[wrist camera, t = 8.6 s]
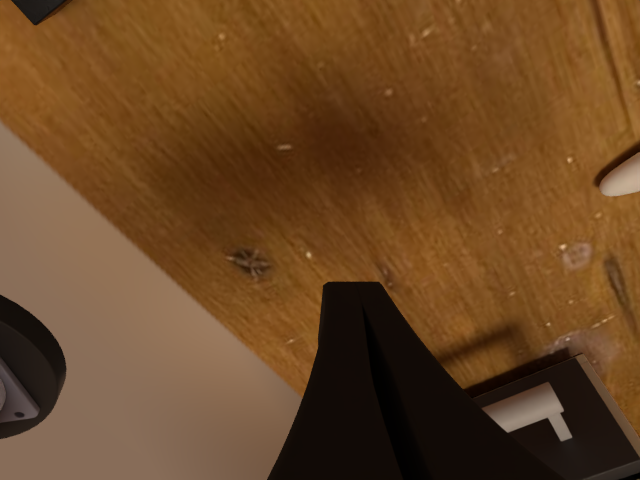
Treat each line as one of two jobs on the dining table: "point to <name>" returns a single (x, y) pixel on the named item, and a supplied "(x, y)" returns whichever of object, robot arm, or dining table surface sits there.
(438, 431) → the robot arm
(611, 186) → the long cone
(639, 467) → the drawer
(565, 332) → the dining table surface
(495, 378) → the dining table surface
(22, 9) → the panel
